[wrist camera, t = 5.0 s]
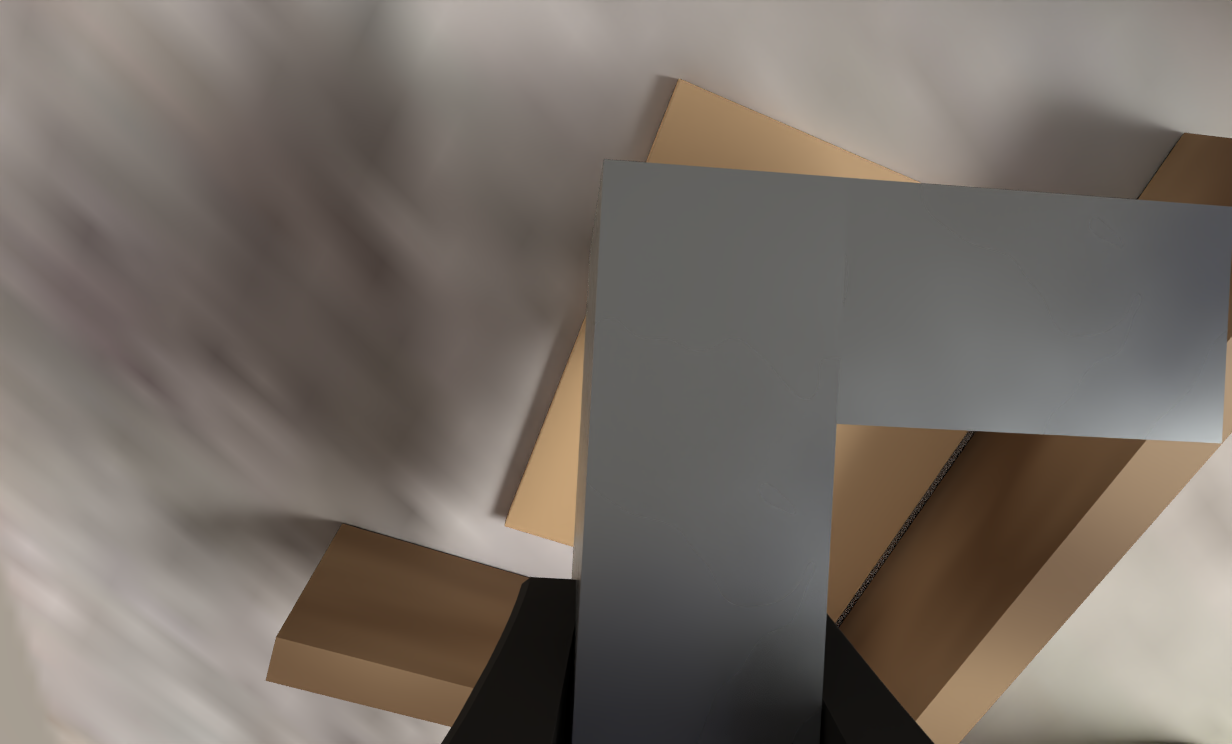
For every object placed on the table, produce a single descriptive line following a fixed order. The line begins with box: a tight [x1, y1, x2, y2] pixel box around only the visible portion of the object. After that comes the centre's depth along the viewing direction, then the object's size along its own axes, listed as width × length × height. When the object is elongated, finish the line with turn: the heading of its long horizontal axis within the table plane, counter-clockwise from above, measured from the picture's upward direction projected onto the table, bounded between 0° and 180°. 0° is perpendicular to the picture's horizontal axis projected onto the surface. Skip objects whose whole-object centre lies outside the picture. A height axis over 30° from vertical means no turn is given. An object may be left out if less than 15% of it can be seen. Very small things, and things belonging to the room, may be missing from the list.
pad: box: [505, 79, 968, 623], centre depth 14 cm, size 10×8×1 cm
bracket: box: [567, 159, 1232, 744], centre depth 9 cm, size 8×6×5 cm
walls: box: [266, 133, 1232, 744], centre depth 13 cm, size 15×14×3 cm
